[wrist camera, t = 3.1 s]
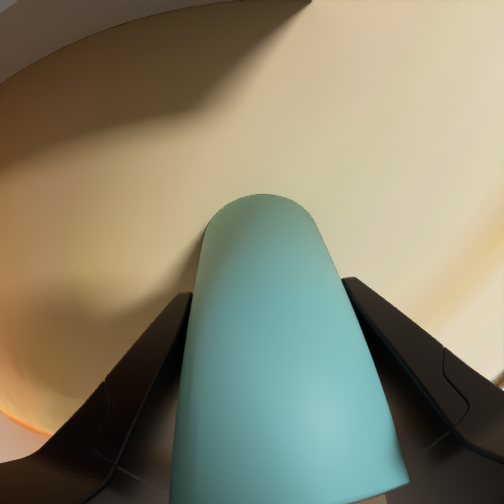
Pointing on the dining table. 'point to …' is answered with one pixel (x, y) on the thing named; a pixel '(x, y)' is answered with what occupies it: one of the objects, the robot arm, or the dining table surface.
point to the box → (65, 24)
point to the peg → (277, 372)
